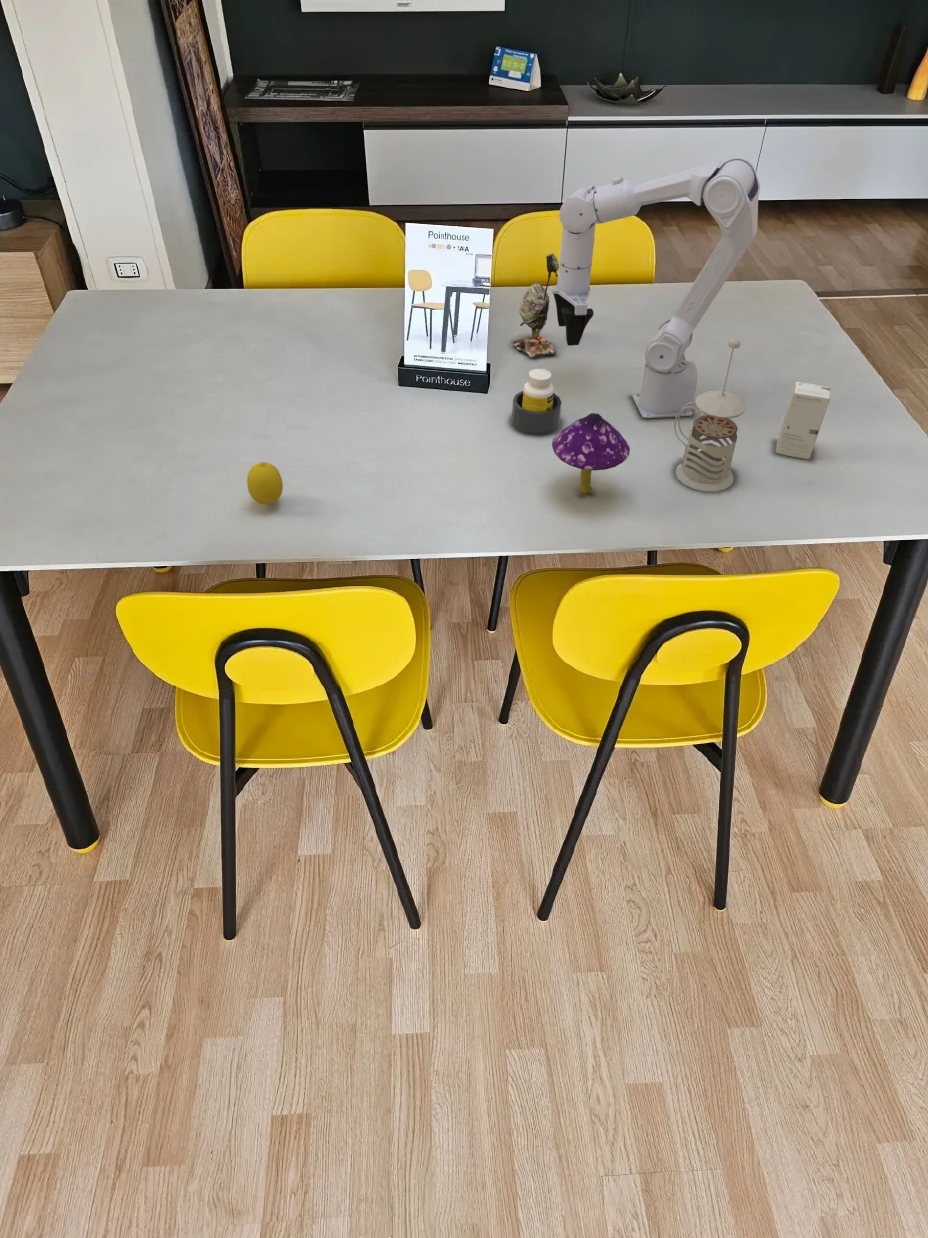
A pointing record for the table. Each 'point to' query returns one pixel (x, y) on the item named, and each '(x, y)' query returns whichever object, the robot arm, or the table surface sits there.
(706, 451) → the french press
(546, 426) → the metal bowl
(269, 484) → the lemon
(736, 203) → the robot arm
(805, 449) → the cosmetic box
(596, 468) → the decorative mushroom
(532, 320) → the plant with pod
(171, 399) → the table surface
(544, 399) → the supplement bottle
